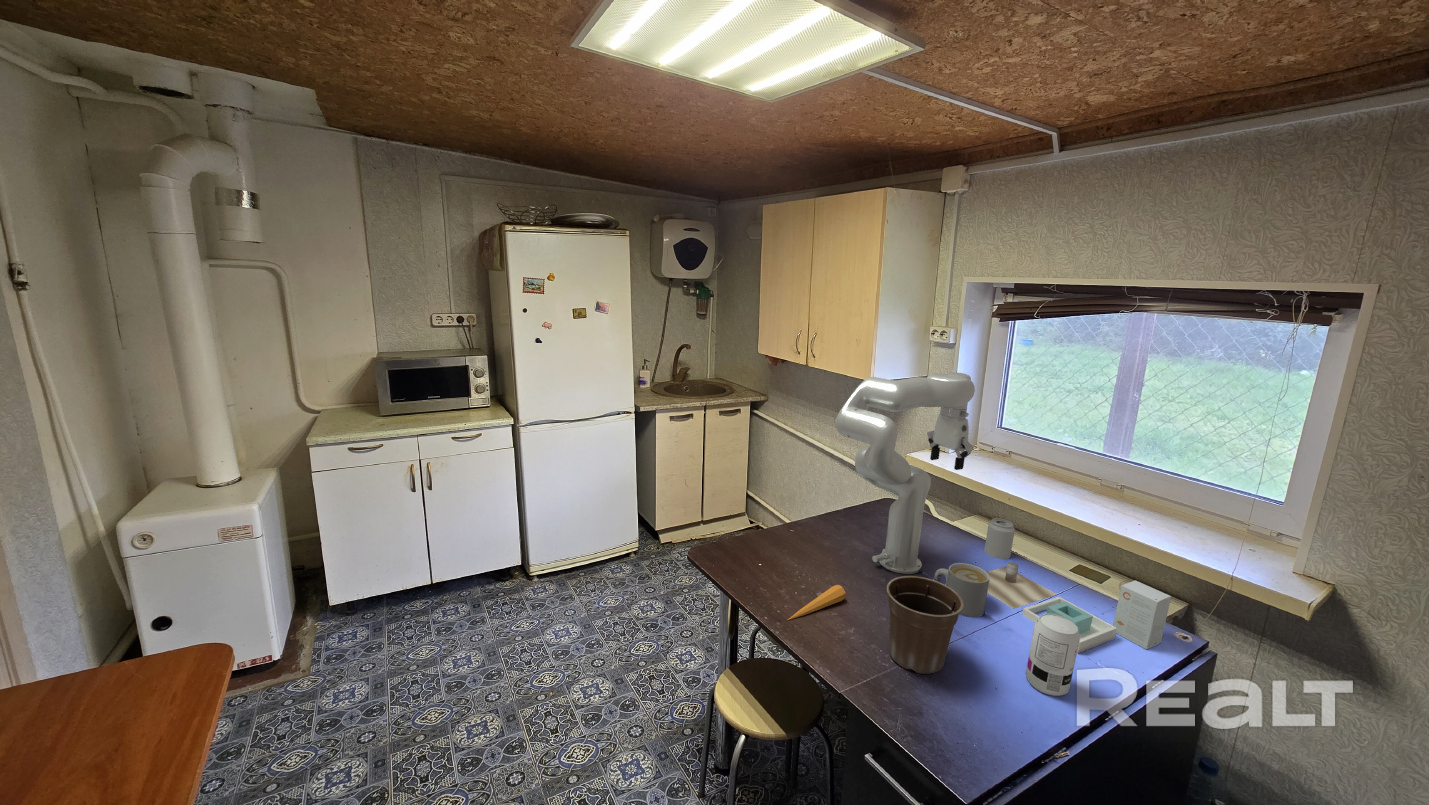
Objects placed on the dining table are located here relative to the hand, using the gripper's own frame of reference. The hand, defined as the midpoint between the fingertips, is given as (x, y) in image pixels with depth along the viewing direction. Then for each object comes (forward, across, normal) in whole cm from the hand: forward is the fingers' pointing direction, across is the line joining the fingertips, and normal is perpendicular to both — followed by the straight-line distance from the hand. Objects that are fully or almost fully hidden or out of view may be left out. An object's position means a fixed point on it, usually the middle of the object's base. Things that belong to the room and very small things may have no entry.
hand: (946, 464), depth 174 cm
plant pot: (+29, -39, +47) cm, 67 cm away
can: (+28, -13, -13) cm, 34 cm away
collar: (+28, -46, +3) cm, 54 cm away
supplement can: (+28, -57, +27) cm, 69 cm away
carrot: (+29, -14, +58) cm, 66 cm away
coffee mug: (+28, -27, +20) cm, 44 cm away
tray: (+28, -46, +3) cm, 54 cm away
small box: (+28, -55, -10) cm, 63 cm away
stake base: (+28, -28, +1) cm, 40 cm away
